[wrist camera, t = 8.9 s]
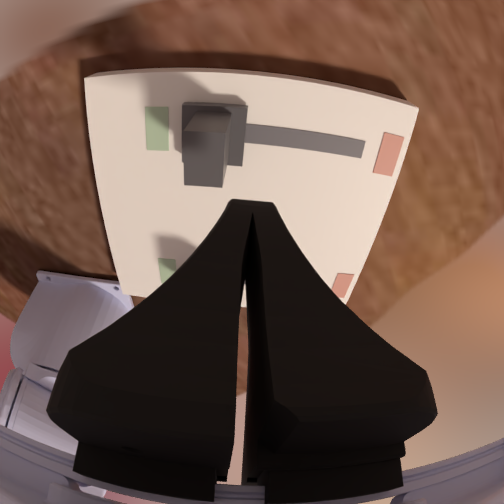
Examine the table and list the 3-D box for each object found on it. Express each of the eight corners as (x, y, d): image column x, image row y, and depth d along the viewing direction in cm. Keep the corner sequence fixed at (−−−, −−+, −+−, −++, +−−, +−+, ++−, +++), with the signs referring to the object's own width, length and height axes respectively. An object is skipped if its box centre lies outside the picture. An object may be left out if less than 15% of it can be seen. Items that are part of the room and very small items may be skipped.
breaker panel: (128, 280, 24) (122, 294, 23) (97, 72, 13) (83, 78, 12) (338, 298, 25) (341, 313, 23) (407, 100, 14) (419, 108, 13)
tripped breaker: (184, 157, 15) (168, 190, 13) (184, 101, 13) (165, 123, 11) (242, 161, 15) (238, 195, 13) (248, 105, 13) (245, 127, 11)
